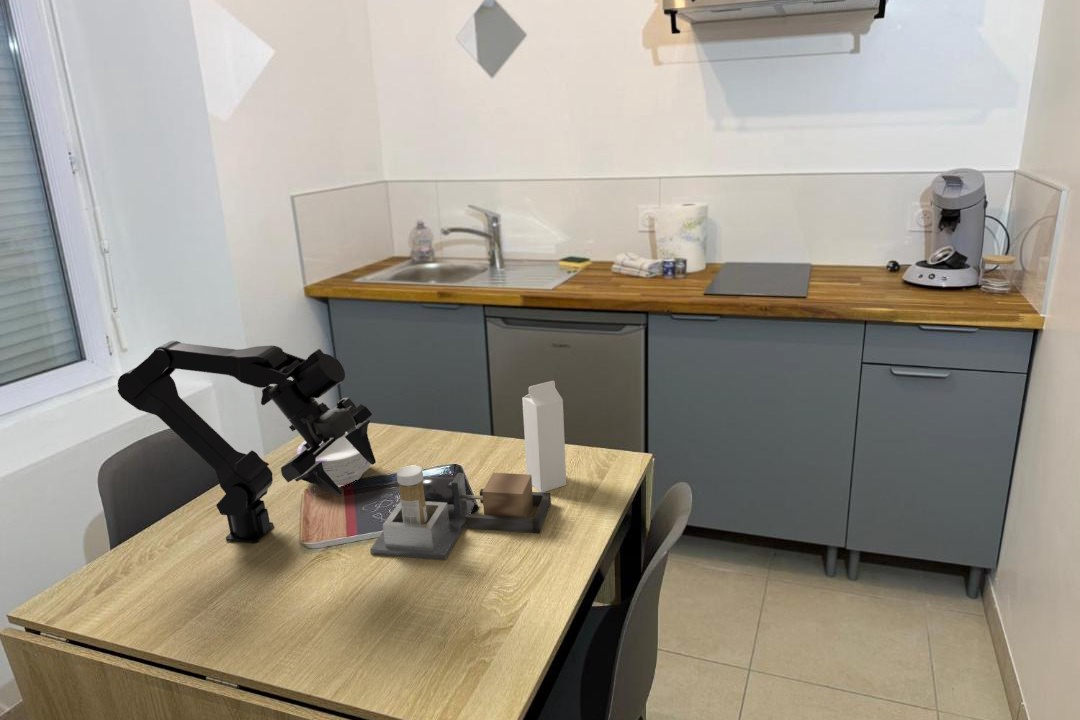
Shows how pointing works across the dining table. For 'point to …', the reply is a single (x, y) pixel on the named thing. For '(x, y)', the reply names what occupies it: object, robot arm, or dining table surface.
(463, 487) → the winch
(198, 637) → the dining table surface
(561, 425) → the milk
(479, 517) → the crate bay
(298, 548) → the dining table surface
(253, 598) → the dining table surface
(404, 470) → the sprinkles bottle
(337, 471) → the paper bowls
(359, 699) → the dining table surface
